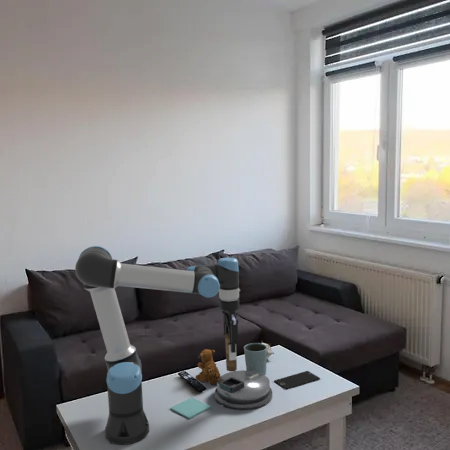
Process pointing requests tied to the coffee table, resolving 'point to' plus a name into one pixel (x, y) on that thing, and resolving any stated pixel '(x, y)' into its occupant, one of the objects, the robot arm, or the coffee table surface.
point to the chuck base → (243, 406)
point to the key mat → (190, 408)
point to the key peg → (229, 364)
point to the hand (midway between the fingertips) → (231, 357)
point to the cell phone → (297, 380)
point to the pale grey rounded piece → (268, 350)
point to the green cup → (256, 357)
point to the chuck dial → (243, 387)
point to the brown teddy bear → (208, 368)
